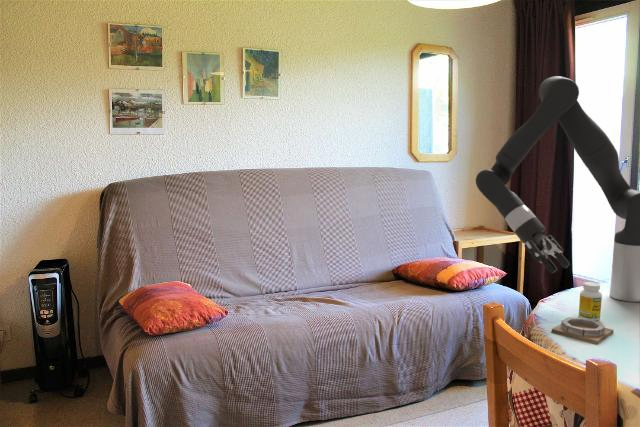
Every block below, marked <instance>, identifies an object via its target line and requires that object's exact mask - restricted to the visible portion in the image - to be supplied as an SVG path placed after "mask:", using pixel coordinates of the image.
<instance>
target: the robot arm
mask: <svg viewBox="0 0 640 427" xmlns="http://www.w3.org/2000/svg"><path fill="white" fill-rule="evenodd" d="M579 94H580V88H579V86H578V84H577V83H576V81H574V80H572V79H570V78H568V77H564V76H560V75H559V76H558V75H557V76H556V75H555V76H550V77H547V78H546V79H544V80H543V81H542V83H541V84H540V86H539V89H538V96H539V99H540V100H539V101H540V103H539V105H538V107H537V109H536V110H535V111H534V112H533V113H532V115H531V116H530V117H529V119H527V121H526V122H524V123H523V124H522V125H521V126H520V127H518V129H517V130H516V131H515V132H513V133H512V135H511V136H510V137H509V138H508V139H507V140H506V142H505V143H504V144H503V146H502V147H501V148H500V150H499V151H498V152H497V154H496V156H495V162H494V164H493V165H492V167H491V169H489V168H488V169H483V170H481V171H479V172H478V173H477V175H476V177H475V185H476V187H477V189H478V190H479V192H480V193H481V195H482V196H484V197H485V198H486V199H487V200H488V201H489V202H490V203H491V204H492V205H493V206H494V207H495V209H496V210H497V211H498V212H499V213H500V215H501V216H502V217H503V218H504V220H505V221H506V223H507V225H508V226H509V228H510V229H511V230H512V231H513V232H514V234H515V235H516V236H517V237H518V239H519V240H520V241H521V242H522V244H524V245H523V247H524V248H525V249H526V250H527V252H528V253H529V255H530V256H531V257H532V259H533V260H534V261H535V262H536V263H540V264H543V266H544V267H545V268H546V269H547V270H548V272H549V273H550V274H554V273H556V272H557V271H558V267H557V266H556V264H555V263H554V262H553V261H552V259H551V258H550V257H549V256H552V257H554V258H555V260H556V262H558V263H559V265H560V266H561V268H563V269H567V268H568V267H569V266H570V265H571V263H570V261H569V260H568V259H567V257H565V256H564V254H563V253H564V251H565V249H564V248H563V247H562V246H561V245H560V243H559V242H558V241H557V240H556V239H555V238H554V237H553V235H551V234H549V235H547V236H546V235H545V231H546V227H545V226H544V224H542V222H541V221H540V220H539V218H538V217H537V216H536V215H535V213H533V211H532V210H531V209H530V208H529V207H527V205H525V203H524V201H522V199H521V198H520V197H519V196H518V195H517V194H516V193H515V192H513V191H512V190H510V189H509V188H508V186H507V185H508V183H509V181H510V180H511V178H512V176H513V174H514V172H515V171H516V169H517V167H518V166H519V165H520V164H521V163H522V161H523V160H524V159H525V157H526V156H528V154H529V153H530V151H531V150H532V148H533V147H534V146H535V145H536V144H537V142H538V141H539V140H540V139H541V137H542V136H543V135H544V134H545V133H546V132H547V131H548V130H549V129H550V128H551V127H552V126H553V125H554V124H555V123H556V122H558V123H559V124H560V126H561V128H562V129H563V131H564V133H565V135H566V136H567V138H568V140H569V142H570V144H571V145H572V147H573V148H574V150H575V152H576V154H577V156H578V157H579V158H580V160H581V161H582V162H583V164H584V165H585V167H586V169H587V170H588V171H589V172H590V174H591V176H593V178H594V180H595V181H596V183H597V184H598V186H599V187H600V189H601V191H602V192H603V194H604V196H605V198H606V200H607V202H608V204H609V207H610V208H611V210H612V212H613V213H614V214H615V215H616V216H617V217H618V218H621V219H624V220H625V222H624V227H623V229H622V230H619V231H617V232H615V234H614V242H613V243H614V244H613V254H612V265H611V275H610V276H611V277H610V288H609V296H610V297H611V298H612V299H615V300H619V301H624V302H630V303H632V302H633V303H636V302H637V303H639V302H640V190H637V189H634V188H632V187H631V186H630V185H629V183H628V182H627V180H625V178H624V176H623V175H622V173H621V170H620V169H621V168H620V159H619V158H620V157H619V153H618V151H617V149H616V147H615V146H614V144H613V143H612V141H611V140H610V138H609V136H608V135H607V134H606V132H604V130H603V129H602V128H601V127H600V126H599V125H598V124H597V123H596V122H595V121H594V120H593V118H591V117H590V116H589V114H587V113H586V111H585V110H584V109H583V107H582V106H581V104H580V103H579V102H580V101H579V100H578V99H579Z"/></svg>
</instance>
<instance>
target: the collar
mask: <svg viewBox="0 0 640 427" xmlns="http://www.w3.org/2000/svg"><path fill="white" fill-rule="evenodd" d="M551 333H554V334H556V335H557V334H558V335H561V336H565V337H569V338H573V339H576V340H580V341H584V342H587V343H592V344H595V345H598V344H599V343H601V342H602V341H604V340H605V339H606V338H608V337H609V336H611V335H612V334H614V329H611V328H608V327H606V326H605V325H604V324H603V323H601V322H600V321H598V320H597V321H594V320H590V319H586V318H580V317H569V316H568V317H565V318H564V319H562V320H561V322H560V324H558V325H556V326H555V327H553V328H551Z"/></svg>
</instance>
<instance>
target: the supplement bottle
mask: <svg viewBox="0 0 640 427" xmlns="http://www.w3.org/2000/svg"><path fill="white" fill-rule="evenodd" d="M582 284H583V286H582V287H583V289H582V290H580V292H579V306H578V318H586V319H590V320H594V321H597V322H598V321H599V320H600V318H601V314H602V313H601V310H602V309H601V308H602V300H603V299H602V298H603V295H602V292H600V289H601V284H599V283H596V282H593V281H592V282H590V281H589V282H587V281H586V282H583V283H582Z"/></svg>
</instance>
